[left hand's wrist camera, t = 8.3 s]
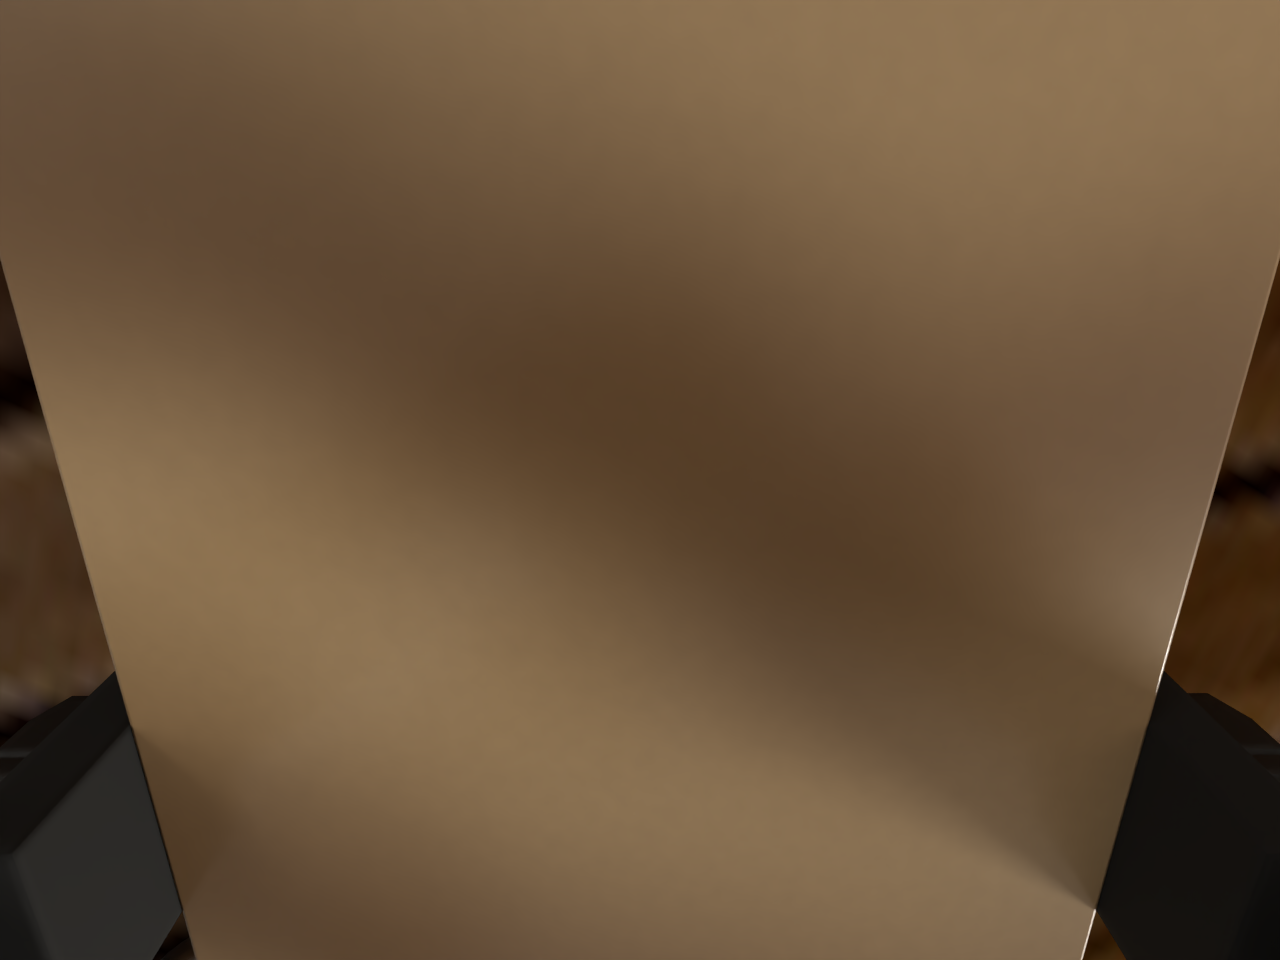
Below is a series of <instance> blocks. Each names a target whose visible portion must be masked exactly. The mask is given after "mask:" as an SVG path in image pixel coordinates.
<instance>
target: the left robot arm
mask: <svg viewBox="0 0 1280 960" xmlns="http://www.w3.org/2000/svg"><path fill="white" fill-rule="evenodd" d="M1096 910H1097V912H1098V914H1099V915H1100V917H1101V919H1102V920H1103V922H1104V923H1105V925H1106V927H1107V928H1108V930H1109V932H1110V933H1111V935H1112V936H1113V938H1114V940H1115V941H1116V943H1117V945H1118V946H1119V948H1120V950H1121V951H1122V953H1123V954H1124V956H1125V958H1126V959H1127V960H1280V744H1279V743H1278V742H1277V741H1276V740H1274V739H1273V738H1272V737H1271V736H1270V735H1269V734H1268V733H1267V732H1266V731H1264V730H1263V729H1262V728H1261V727H1260V726H1259V725H1258V724H1257V723H1256V722H1255V721H1253V720H1252V719H1251V718H1249V717H1248V716H1246V715H1244V714H1242V713H1241V712H1239V711H1237V710H1235V709H1234V708H1232V707H1230V706H1229V705H1227V704H1225V703H1223V702H1222V701H1220V700H1218V699H1216V698H1215V697H1213V696H1211V695H1210V694H1208V693H1186V692H1185V691H1184V690H1183V689H1182V688H1181V687H1180V686H1179V685H1178V684H1177V683H1176V682H1175V681H1174V680H1173V679H1172V678H1171V677H1170V676H1169V675H1168V674H1167V673H1166V672H1165V671H1163V674H1162V678H1161V681H1160V685H1159V689H1158V692H1157V696H1156V699H1155V703H1154V706H1153V710H1152V713H1151V717H1150V721H1149V724H1148V728H1147V731H1146V735H1145V738H1144V742H1143V745H1142V749H1141V753H1140V756H1139V760H1138V763H1137V767H1136V770H1135V774H1134V777H1133V781H1132V785H1131V788H1130V792H1129V795H1128V799H1127V802H1126V806H1125V809H1124V813H1123V817H1122V820H1121V824H1120V827H1119V831H1118V834H1117V838H1116V841H1115V845H1114V849H1113V852H1112V856H1111V859H1110V863H1109V866H1108V870H1107V873H1106V877H1105V881H1104V884H1103V888H1102V891H1101V895H1100V898H1099V902H1098V905H1097V909H1096ZM181 912H182V908H181V904H180V901H179V897H178V893H177V890H176V886H175V883H174V879H173V876H172V872H171V868H170V865H169V861H168V858H167V854H166V851H165V847H164V843H163V840H162V836H161V833H160V829H159V825H158V822H157V818H156V815H155V811H154V808H153V804H152V800H151V797H150V793H149V790H148V786H147V783H146V779H145V775H144V772H143V768H142V765H141V761H140V758H139V754H138V750H137V747H136V743H135V740H134V736H133V732H132V729H131V725H130V722H129V718H128V715H127V711H126V707H125V704H124V700H123V697H122V693H121V690H120V686H119V682H118V679H117V675H116V672H115V671H114V672H113V673H112V674H111V675H110V676H109V677H108V678H107V679H106V680H105V681H104V682H103V683H102V684H101V685H100V686H99V687H98V688H97V689H96V690H95V691H94V692H93V693H92V694H91V695H90V696H72V697H70V698H68V699H66V700H65V701H63V702H61V703H60V704H58V705H56V706H54V707H53V708H51V709H49V710H48V711H46V712H44V713H42V714H41V715H39V716H37V717H36V718H34V719H32V720H30V721H29V722H27V723H26V724H25V725H24V726H23V727H22V728H21V729H20V730H19V731H17V732H16V733H15V734H14V735H13V736H12V737H11V738H10V739H9V740H8V741H7V742H5V743H4V744H3V745H2V746H1V747H0V960H152V959H153V958H154V956H155V955H156V953H157V951H158V950H159V948H160V946H161V945H162V943H163V942H164V940H165V938H166V937H167V935H168V933H169V932H170V930H171V928H172V927H173V925H174V924H175V922H176V920H177V919H178V917H179V915H180V914H181ZM161 960H196V958H195V954H194V951H193V947H192V944H191V940H190V937H189V938H187V939H186V940H184V941H182V942H181V943H180V944H178V945H177V946H176V947H174V948H173V949H172V950H171V951H169V952H168V953H167V954H166V955H165V956H164V957H163V958H162V959H161Z"/></svg>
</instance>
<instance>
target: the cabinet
mask: <svg viewBox="0 0 1280 960" xmlns="http://www.w3.org/2000/svg"><path fill="white" fill-rule="evenodd" d="M1279 258H1280V0H0V260H1V264H2V267H3V271H4V275H5V278H6V282H7V285H8V289H9V293H10V296H11V300H12V303H13V307H14V310H15V314H16V318H17V321H18V325H19V328H20V332H21V335H22V339H23V343H24V346H25V350H26V353H27V357H28V360H29V364H30V368H31V371H32V375H33V378H34V382H35V386H36V389H37V393H38V396H39V400H40V403H41V407H42V411H43V414H44V418H45V421H46V425H47V428H48V432H49V436H50V439H51V443H52V446H53V450H54V453H55V457H56V461H57V464H58V468H59V471H60V475H61V479H62V482H63V486H64V489H65V493H66V496H67V500H68V504H69V507H70V511H71V514H72V518H73V521H74V525H75V529H76V532H77V536H78V539H79V543H80V546H81V550H82V554H83V557H84V561H85V564H86V568H87V572H88V575H89V579H90V582H91V586H92V589H93V593H94V597H95V600H96V604H97V607H98V611H99V614H100V618H101V622H102V625H103V629H104V632H105V636H106V639H107V643H108V647H109V650H110V654H111V657H112V661H113V665H114V668H115V672H116V675H117V679H118V682H119V686H120V690H121V693H122V697H123V700H124V704H125V707H126V711H127V715H128V718H129V722H130V725H131V729H132V732H133V736H134V740H135V743H136V747H137V750H138V754H139V758H140V761H141V765H142V768H143V772H144V775H145V779H146V783H147V786H148V790H149V793H150V797H151V800H152V804H153V808H154V811H155V815H156V818H157V822H158V825H159V829H160V833H161V836H162V840H163V843H164V847H165V851H166V854H167V858H168V861H169V865H170V868H171V872H172V876H173V879H174V883H175V886H176V890H177V893H178V897H179V901H180V904H181V908H182V911H183V915H184V918H185V922H186V926H187V929H188V933H189V936H190V940H191V944H192V947H193V951H194V954H195V958H196V960H1082V959H1083V955H1084V952H1085V948H1086V945H1087V941H1088V937H1089V934H1090V930H1091V927H1092V923H1093V920H1094V916H1095V913H1096V909H1097V905H1098V902H1099V898H1100V895H1101V891H1102V888H1103V884H1104V881H1105V877H1106V873H1107V870H1108V866H1109V863H1110V859H1111V856H1112V852H1113V849H1114V845H1115V841H1116V838H1117V834H1118V831H1119V827H1120V824H1121V820H1122V817H1123V813H1124V809H1125V806H1126V802H1127V799H1128V795H1129V792H1130V788H1131V785H1132V781H1133V777H1134V774H1135V770H1136V767H1137V763H1138V760H1139V756H1140V753H1141V749H1142V745H1143V742H1144V738H1145V735H1146V731H1147V728H1148V724H1149V721H1150V717H1151V713H1152V710H1153V706H1154V703H1155V699H1156V696H1157V692H1158V689H1159V685H1160V681H1161V678H1162V674H1163V671H1164V667H1165V664H1166V660H1167V657H1168V653H1169V649H1170V646H1171V642H1172V639H1173V635H1174V632H1175V628H1176V625H1177V621H1178V617H1179V614H1180V610H1181V607H1182V603H1183V600H1184V596H1185V593H1186V589H1187V586H1188V582H1189V578H1190V575H1191V571H1192V568H1193V564H1194V561H1195V557H1196V554H1197V550H1198V546H1199V543H1200V539H1201V536H1202V532H1203V529H1204V525H1205V522H1206V518H1207V514H1208V511H1209V507H1210V504H1211V500H1212V497H1213V493H1214V490H1215V486H1216V482H1217V479H1218V475H1219V472H1220V468H1221V465H1222V461H1223V458H1224V454H1225V450H1226V447H1227V443H1228V440H1229V436H1230V433H1231V429H1232V426H1233V422H1234V418H1235V415H1236V411H1237V408H1238V404H1239V401H1240V397H1241V394H1242V390H1243V386H1244V383H1245V379H1246V376H1247V372H1248V369H1249V365H1250V362H1251V358H1252V354H1253V351H1254V347H1255V344H1256V340H1257V337H1258V333H1259V330H1260V326H1261V322H1262V319H1263V315H1264V312H1265V308H1266V305H1267V301H1268V298H1269V294H1270V290H1271V287H1272V283H1273V280H1274V276H1275V273H1276V269H1277V266H1278V262H1279Z"/></svg>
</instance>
